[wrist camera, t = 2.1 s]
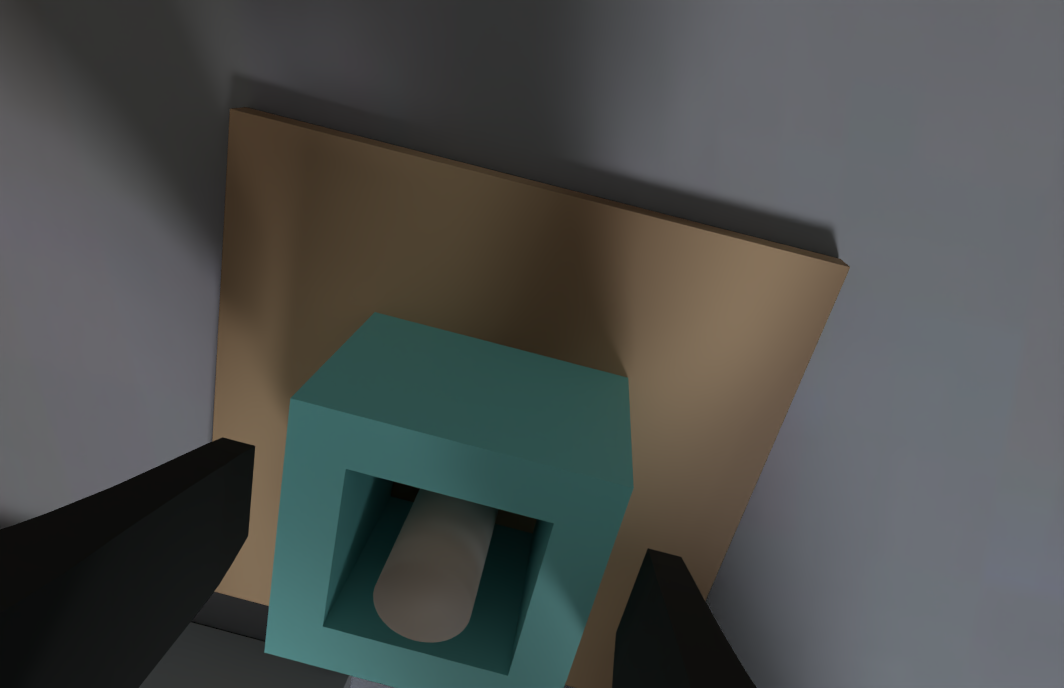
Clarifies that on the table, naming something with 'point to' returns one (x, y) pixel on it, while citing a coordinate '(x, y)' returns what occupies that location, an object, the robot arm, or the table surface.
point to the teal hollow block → (458, 471)
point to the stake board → (511, 320)
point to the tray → (233, 665)
